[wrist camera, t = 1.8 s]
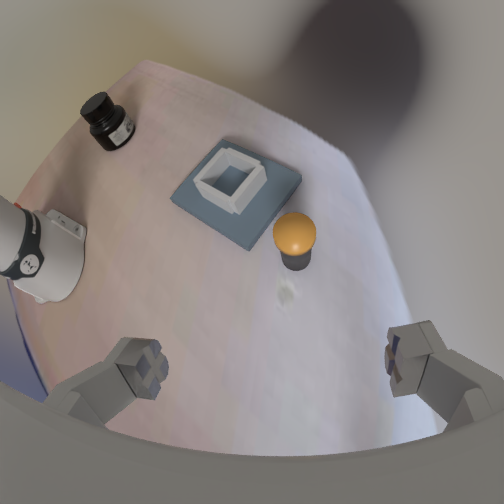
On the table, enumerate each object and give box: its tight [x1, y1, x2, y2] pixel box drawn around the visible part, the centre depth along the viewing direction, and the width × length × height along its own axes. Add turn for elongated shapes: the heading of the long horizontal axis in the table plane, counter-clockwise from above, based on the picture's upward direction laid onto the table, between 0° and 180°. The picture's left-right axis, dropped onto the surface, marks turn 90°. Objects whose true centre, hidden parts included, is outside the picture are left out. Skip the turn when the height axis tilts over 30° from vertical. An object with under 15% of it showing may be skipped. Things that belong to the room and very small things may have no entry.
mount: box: [170, 139, 302, 251], centre depth 42 cm, size 16×14×5 cm
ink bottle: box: [80, 92, 135, 151], centre depth 50 cm, size 10×9×12 cm
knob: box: [273, 212, 316, 271], centre depth 35 cm, size 5×5×8 cm
